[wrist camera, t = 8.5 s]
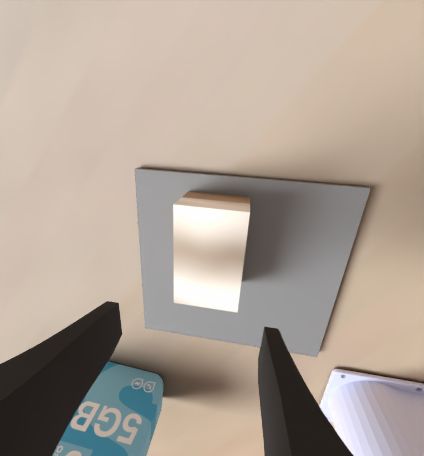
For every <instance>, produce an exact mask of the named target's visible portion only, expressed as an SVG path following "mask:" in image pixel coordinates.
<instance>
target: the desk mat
mask: <svg viewBox="0 0 424 456" xmlns="http://www.w3.org/2000/svg"><path fill="white" fill-rule="evenodd" d="M135 182H136V197H137V212H138V227H139V242H140V257H141V272H142V287H143V302H144V317H145V328H147V329H153V330H159V331H165V332H171V333H176V334H182V335H188V336H194V337H200V338H206V339H212V340H218V341H224V342H230V343H236V344H242V345H248V346H254V347H261V342H262V336H263V331H264V326H265V327H271V328H277V329H279V331H280V333H281V335H282V338H283V340H284V342H285V345H286V347H287V349H288V351H289V353H295V354H301V355H307V356H313V357H317V356H318V353H319V350H320V347H321V344H322V340H323V337H324V334H325V331H326V328H327V325H328V322H329V318H330V315H331V312H332V309H333V306H334V303H335V300H336V296H337V293H338V290H339V287H340V284H341V281H342V278H343V274H344V271H345V268H346V265H347V262H348V259H349V255H350V252H351V249H352V246H353V243H354V240H355V237H356V233H357V230H358V227H359V224H360V221H361V218H362V215H363V211H364V208H365V205H366V202H367V199H368V196H369V193H370V189H371V188H368V187H362V186H350V185H338V184H326V183H314V182H301V181H289V180H277V179H265V178H253V177H241V176H229V175H217V174H204V173H192V172H180V171H168V170H156V169H144V168H136V169H135ZM188 191H190V192H200V193H211V194H222V195H232V196H243V197H250V217H249V225H248V233H247V241H246V249H245V256H244V264H243V272H242V280H241V288H240V296H239V304H238V312H231V311H224V310H218V309H211V308H205V307H198V306H192V305H185V304H179V303H174V249H173V204H175V203H176V202H177V201H178V200H179V199H180V198H181V197H182V196H184V195H185V194H186V193H187V192H188Z"/></svg>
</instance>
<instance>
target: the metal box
mask: <svg viewBox="0 0 424 456" xmlns="http://www.w3.org/2000/svg"><path fill="white" fill-rule="evenodd" d="M249 217H250V197H243V196H232V195H222V194H211V193H200V192H190V191H188V192H187V193H186V194H185V195H184V196H182V197H181V198H180V199H179V200H178V201H177V202H176V203H175V204H173V249H174V303H179V304H185V305H192V306H198V307H205V308H211V309H218V310H224V311H231V312H238V304H239V296H240V288H241V280H242V272H243V264H244V256H245V249H246V241H247V233H248V225H249Z"/></svg>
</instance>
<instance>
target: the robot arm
mask: <svg viewBox="0 0 424 456" xmlns="http://www.w3.org/2000/svg"><path fill="white" fill-rule="evenodd" d="M121 335H122V329H121V320H120V311H119V303H115V302H108V301H107V302H105V303H104V304H102V305H101V306H99V307H97V308H96V309H94V310H93V311H91V312H90V313H88V314H87V315H85V316H84V317H82V318H81V319H79V320H77V321H76V322H74V323H73V324H71V325H70V326H68V327H67V328H65V329H63V330H62V331H60V332H58V333H57V334H55V335H53V336H52V337H50V338H48V339H47V340H45V341H43V342H42V343H40V344H38V345H36V346H35V347H33V348H31V349H29V350H27V351H25V352H23V353H22V354H20V355H18V356H16V357H14V358H12V359H10V360H8V361H6V362H4V363H2V364H0V456H52V455H53V453H54V451H55V449H56V448H57V446H58V444H59V442H60V440H61V438H62V436H63V434H64V432H65V430H66V429H67V427H68V425H69V423H70V421H71V419H72V417H73V416H74V414H75V412H76V410H77V409H78V407H79V405H80V404H81V402H82V401H83V399H84V397H85V396H86V394H87V393H88V391H89V390H90V388H91V387H92V385H93V384H94V382H95V381H96V379H97V377H98V376H99V374H100V373H101V371H102V370H103V368H104V367H105V365H106V363H107V362H108V360H109V359H110V357H111V355H112V354H113V352H114V350H115V348H116V346H117V344H118V342H119V340H120V337H121ZM258 384H259V395H260V406H261V417H262V427H263V438H264V452H265V456H424V384H423V383H417V382H412V381H406V380H400V379H394V378H388V377H383V376H377V375H371V374H365V373H359V372H353V371H348V370H342V369H334V370H333V371H332V373H331V376H330V378H329V381H328V384H327V387H326V389H325V392H324V395H323V398H322V400H321V403H320V406H319V405H318V404H317V402H316V400H315V399H314V397H313V395H312V394H311V392H310V390H309V389H308V387H307V385H306V383H305V382H304V380H303V378H302V376H301V374H300V373H299V371H298V369H297V367H296V365H295V363H294V361H293V359H292V357H291V355H290V353H289V351H288V349H287V347H286V345H285V342H284V340H283V338H282V335H281V333H280V331H279V329H277V328H271V327H265V326H264V331H263V336H262V342H261V347H260V352H259V358H258ZM330 422H331V423H333V424H334V428H335V429H334V428H333V426H332V425H331V423H330Z"/></svg>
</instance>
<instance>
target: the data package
mask: <svg viewBox="0 0 424 456" xmlns="http://www.w3.org/2000/svg"><path fill="white" fill-rule="evenodd" d="M162 396H163V380H162V378H161V377H160V376H159V375H158V374H156V373H152V372H149V371H145V370H141V369H137V368H133V367H129V366H125V365H121V364H117V363H113V362H109V361H108V362H107V363H106V365H105V367H104V368H103V370H102V371H101V373H100V374H99V376H98V377H97V379H96V381H95V382H94V384H93V385H92V387H91V388H90V390H89V391H88V393H87V394H86V396H85V397H84V399H83V401H82V402H81V404H80V405H79V407H78V409H77V410H76V412H75V414H74V416H73V417H72V419H71V421H70V423H69V425H68V427H67V429H66V430H65V432H64V434H63V436H62V438H61V440H60V442H59V444H58V446H57V448H56V449H55V451H54V453H53V455H52V456H146V455H147V452H148V449H149V445H150V442H151V439H152V436H153V433H154V430H155V427H156V424H157V421H158V418H159V415H160V412H161V406H162Z"/></svg>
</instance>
